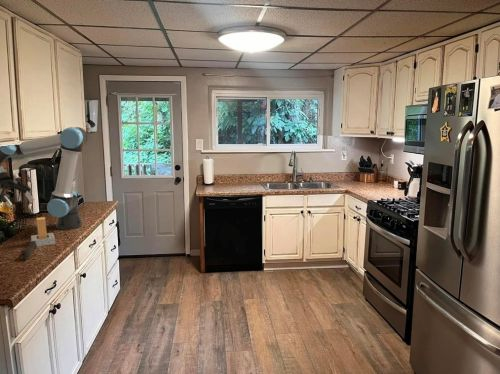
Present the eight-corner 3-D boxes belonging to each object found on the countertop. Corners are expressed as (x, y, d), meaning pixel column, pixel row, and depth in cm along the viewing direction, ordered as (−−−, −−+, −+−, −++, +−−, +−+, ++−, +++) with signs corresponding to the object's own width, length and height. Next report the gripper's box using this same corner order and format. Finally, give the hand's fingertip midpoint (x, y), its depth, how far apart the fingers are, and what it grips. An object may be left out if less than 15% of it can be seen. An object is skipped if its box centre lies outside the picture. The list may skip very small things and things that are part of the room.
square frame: (53, 238, 218) (52, 232, 217) (55, 243, 209) (54, 237, 208) (31, 241, 212) (30, 235, 211) (32, 247, 203) (32, 240, 202)
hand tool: (28, 249, 200) (27, 241, 199) (36, 248, 201) (36, 240, 200) (19, 262, 182) (18, 253, 182) (28, 261, 184) (27, 252, 183)
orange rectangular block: (46, 241, 213) (44, 217, 210) (47, 243, 210) (45, 218, 207) (38, 242, 211) (36, 218, 208) (39, 244, 207) (37, 219, 205)
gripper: (17, 176, 228) (38, 203, 225) (-25, 183, 205) (-3, 212, 202) (23, 168, 225) (44, 195, 222) (-20, 174, 202) (3, 203, 199)
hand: (22, 203), depth 212 cm, fingers open, 13 cm apart
